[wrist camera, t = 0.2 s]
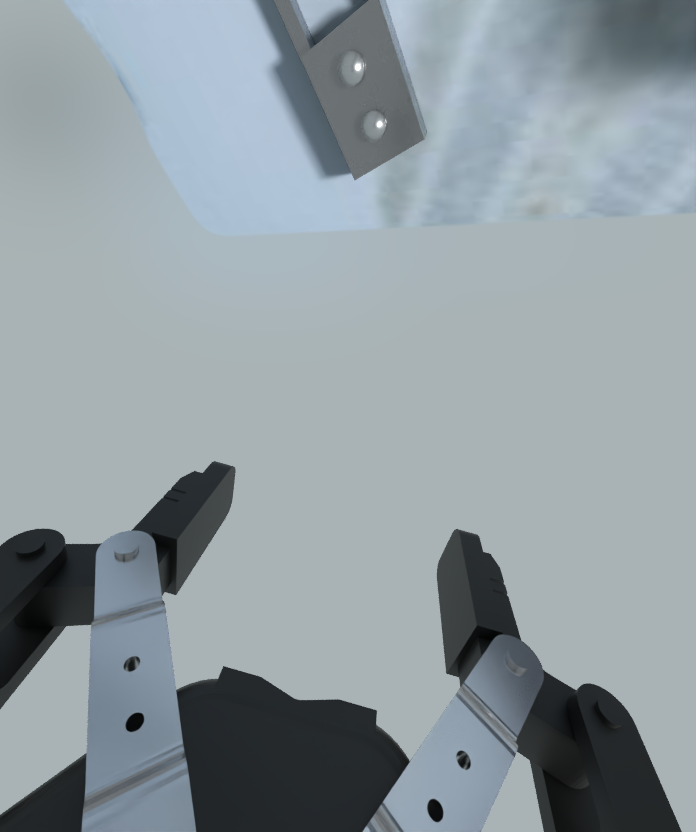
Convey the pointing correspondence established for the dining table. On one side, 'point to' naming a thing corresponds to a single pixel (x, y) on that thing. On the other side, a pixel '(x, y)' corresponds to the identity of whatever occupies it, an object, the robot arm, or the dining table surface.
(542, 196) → the dining table surface
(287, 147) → the dining table surface
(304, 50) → the chain end
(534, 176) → the dining table surface
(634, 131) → the dining table surface
